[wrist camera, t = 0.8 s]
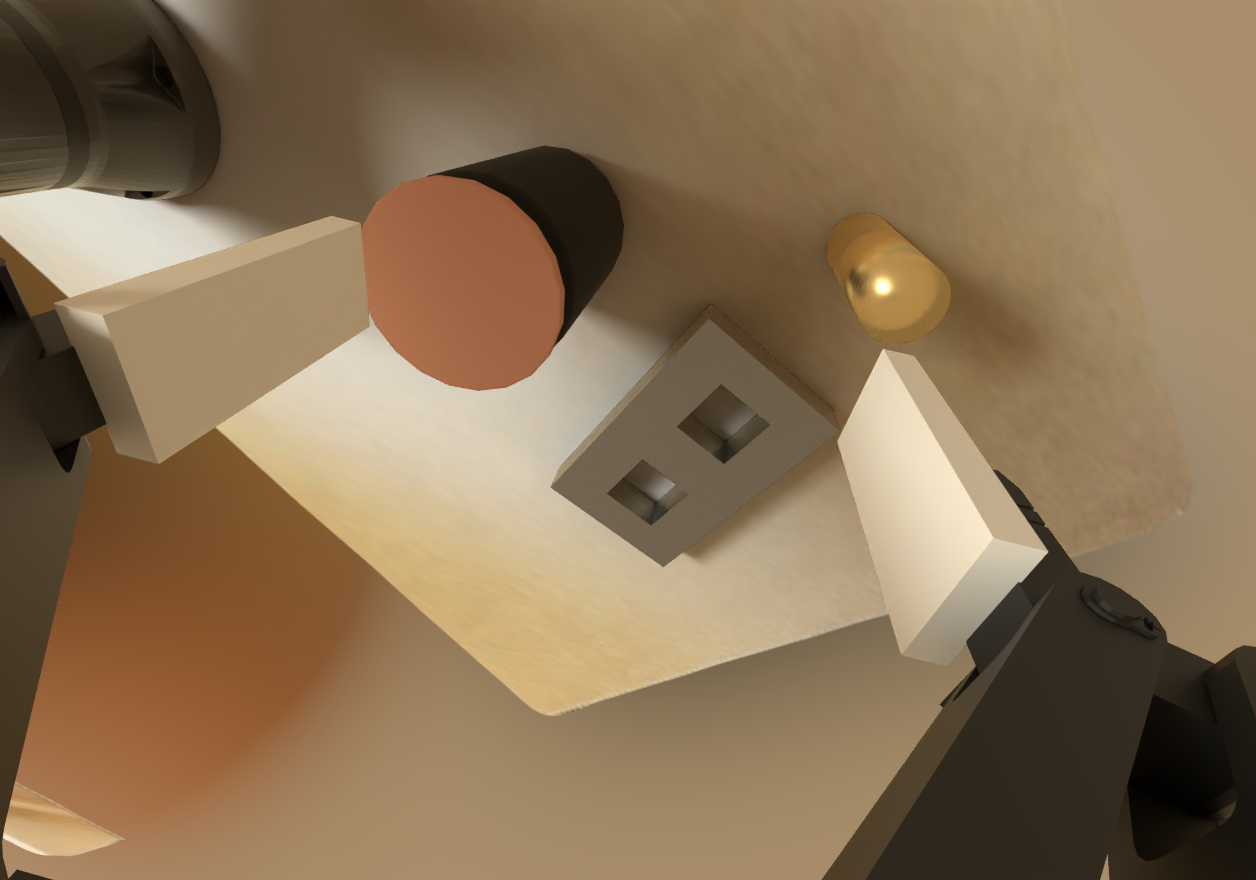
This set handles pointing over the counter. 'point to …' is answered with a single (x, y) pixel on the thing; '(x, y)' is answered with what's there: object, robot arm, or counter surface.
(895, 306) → the yellow translucent cylinder
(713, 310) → the block
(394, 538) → the counter surface
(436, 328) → the coffee jar
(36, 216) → the counter surface
